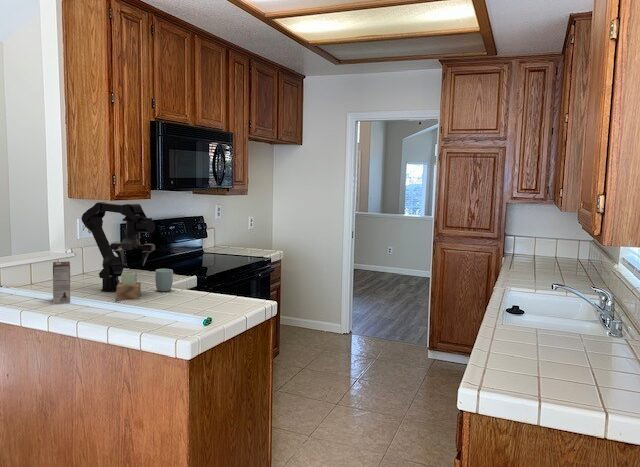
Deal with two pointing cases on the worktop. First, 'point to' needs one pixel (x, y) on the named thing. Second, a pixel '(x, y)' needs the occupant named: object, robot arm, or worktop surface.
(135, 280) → the green cube
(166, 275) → the cup
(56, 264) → the coffee box
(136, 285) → the walnut block
